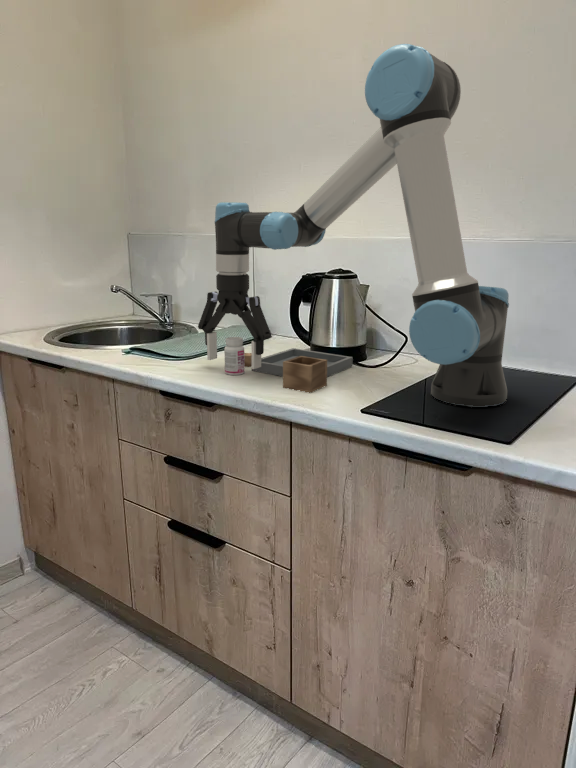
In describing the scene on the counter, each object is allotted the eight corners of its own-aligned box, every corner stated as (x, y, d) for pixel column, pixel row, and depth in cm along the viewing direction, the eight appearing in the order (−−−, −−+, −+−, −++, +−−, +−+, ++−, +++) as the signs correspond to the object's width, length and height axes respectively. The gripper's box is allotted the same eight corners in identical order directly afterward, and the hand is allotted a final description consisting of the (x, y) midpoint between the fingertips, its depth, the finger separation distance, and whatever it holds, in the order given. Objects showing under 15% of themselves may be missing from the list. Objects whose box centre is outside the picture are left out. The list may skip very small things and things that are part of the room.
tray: (352, 366, 144) (352, 357, 143) (314, 382, 130) (314, 372, 129) (293, 356, 154) (293, 348, 153) (251, 370, 139) (251, 361, 139)
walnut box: (326, 386, 127) (327, 359, 126) (309, 393, 122) (310, 366, 120) (300, 381, 131) (300, 355, 130) (282, 388, 126) (283, 361, 124)
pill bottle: (241, 376, 135) (241, 340, 132) (222, 374, 136) (221, 339, 133) (247, 371, 139) (246, 336, 137) (228, 369, 140) (227, 335, 138)
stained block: (253, 364, 146) (253, 353, 145) (250, 367, 143) (250, 356, 142) (230, 363, 147) (230, 352, 146) (227, 366, 144) (226, 354, 143)
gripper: (287, 275, 127) (285, 368, 133) (203, 268, 141) (205, 352, 147) (266, 278, 121) (266, 375, 127) (181, 270, 135) (184, 358, 141)
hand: (233, 363), depth 137 cm, fingers open, 13 cm apart
